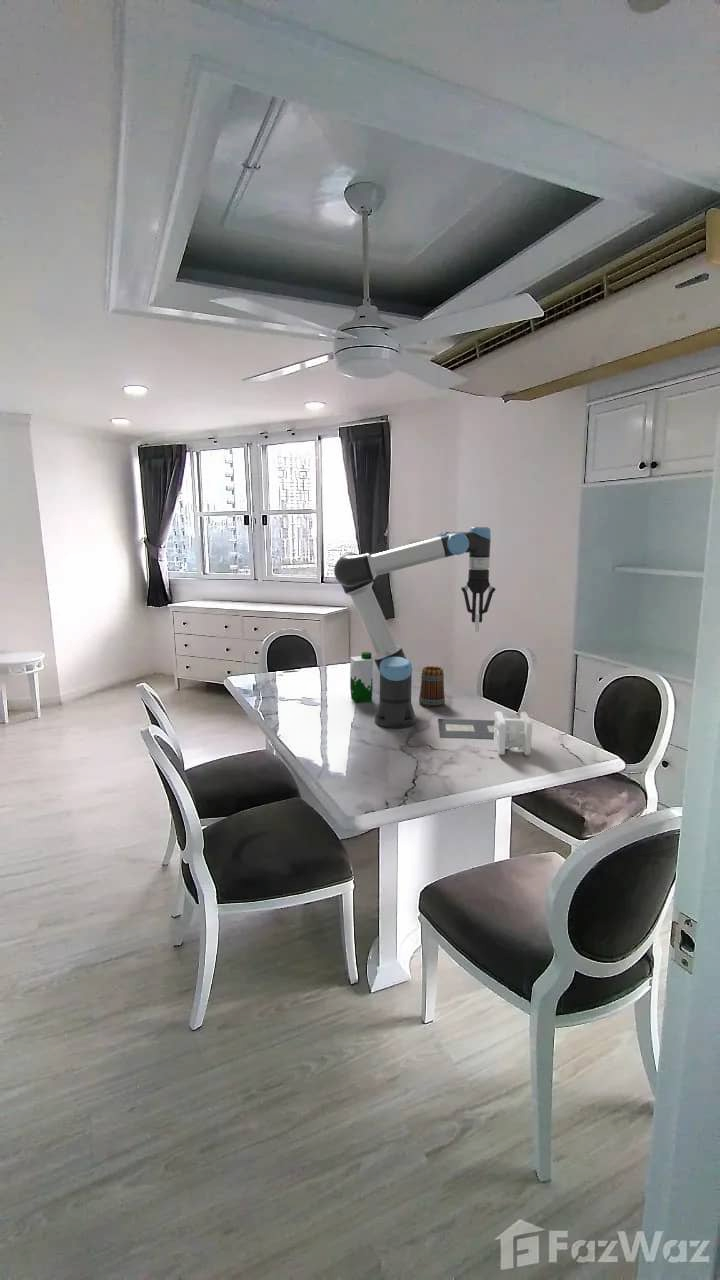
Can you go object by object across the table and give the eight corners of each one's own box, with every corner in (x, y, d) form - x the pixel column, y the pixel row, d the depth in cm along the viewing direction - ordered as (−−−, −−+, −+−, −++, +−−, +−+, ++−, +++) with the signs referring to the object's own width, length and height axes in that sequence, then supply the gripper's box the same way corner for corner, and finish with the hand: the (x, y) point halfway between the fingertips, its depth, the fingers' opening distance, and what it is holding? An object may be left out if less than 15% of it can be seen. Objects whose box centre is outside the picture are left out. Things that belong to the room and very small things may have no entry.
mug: (446, 708, 242) (447, 671, 240) (419, 707, 243) (420, 671, 240) (441, 697, 258) (442, 662, 255) (416, 697, 258) (417, 662, 255)
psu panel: (439, 737, 209) (439, 736, 209) (437, 719, 228) (437, 718, 228) (528, 740, 206) (528, 739, 206) (518, 721, 226) (518, 721, 226)
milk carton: (374, 702, 250) (374, 655, 246) (353, 703, 247) (353, 656, 244) (369, 696, 258) (369, 650, 254) (348, 698, 256) (348, 651, 252)
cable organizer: (531, 759, 189) (533, 724, 187) (496, 758, 190) (498, 723, 188) (523, 743, 204) (525, 709, 202) (491, 741, 205) (493, 708, 203)
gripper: (462, 569, 223) (459, 632, 228) (497, 569, 222) (494, 632, 227) (460, 567, 231) (458, 628, 235) (495, 568, 230) (492, 629, 234)
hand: (476, 630), depth 231 cm, fingers closed
